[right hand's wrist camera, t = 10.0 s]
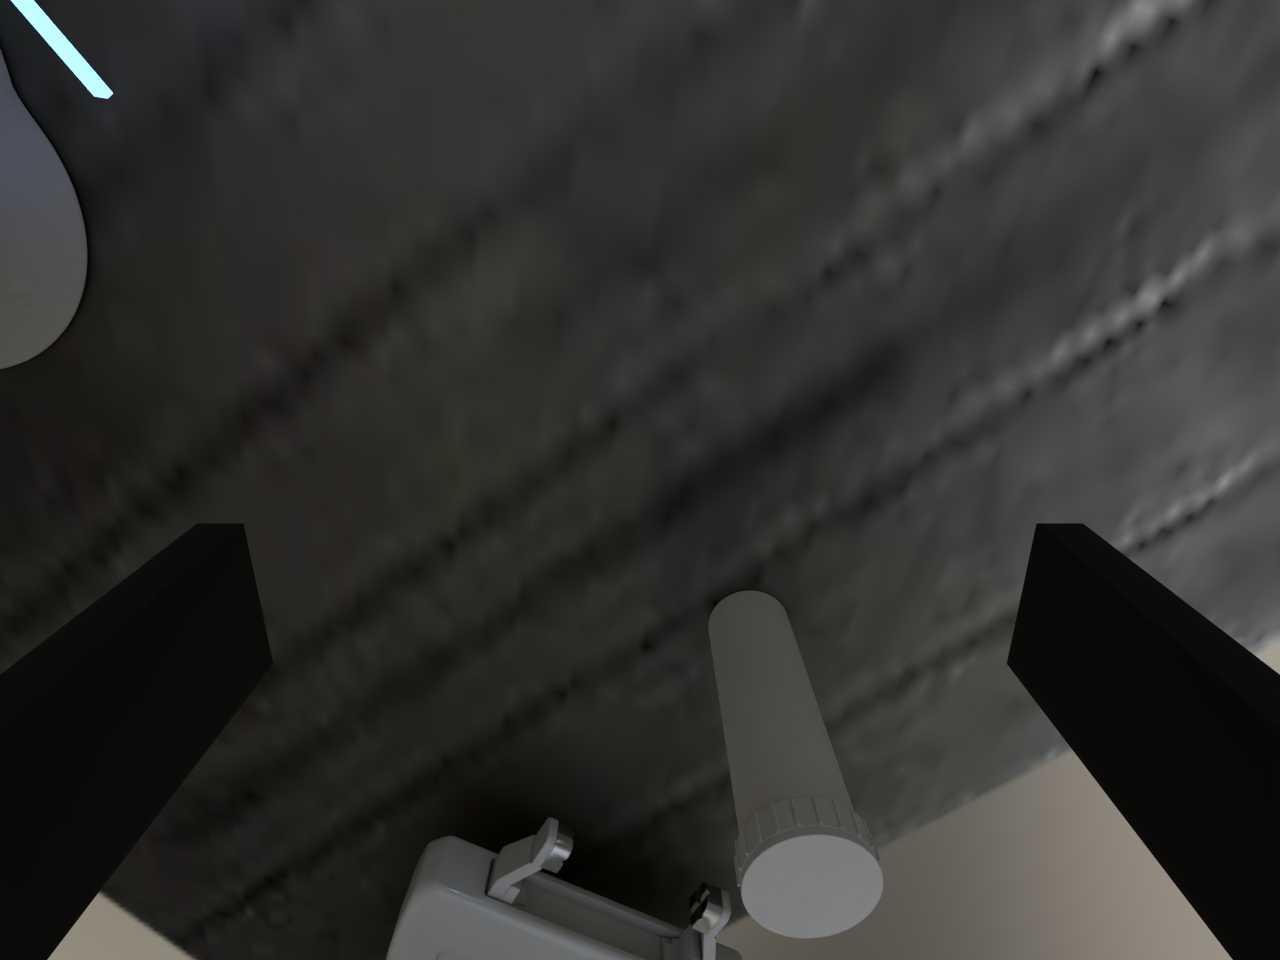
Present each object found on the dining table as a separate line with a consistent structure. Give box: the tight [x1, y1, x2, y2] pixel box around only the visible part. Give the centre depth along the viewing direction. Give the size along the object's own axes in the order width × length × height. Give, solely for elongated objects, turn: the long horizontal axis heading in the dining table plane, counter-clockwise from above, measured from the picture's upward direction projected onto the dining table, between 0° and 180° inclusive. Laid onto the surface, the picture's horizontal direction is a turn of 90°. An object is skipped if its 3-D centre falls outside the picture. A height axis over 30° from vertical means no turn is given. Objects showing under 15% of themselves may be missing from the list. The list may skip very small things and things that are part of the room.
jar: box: [708, 590, 854, 834], centre depth 34 cm, size 4×4×16 cm
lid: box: [734, 796, 883, 938], centre depth 27 cm, size 5×5×2 cm
